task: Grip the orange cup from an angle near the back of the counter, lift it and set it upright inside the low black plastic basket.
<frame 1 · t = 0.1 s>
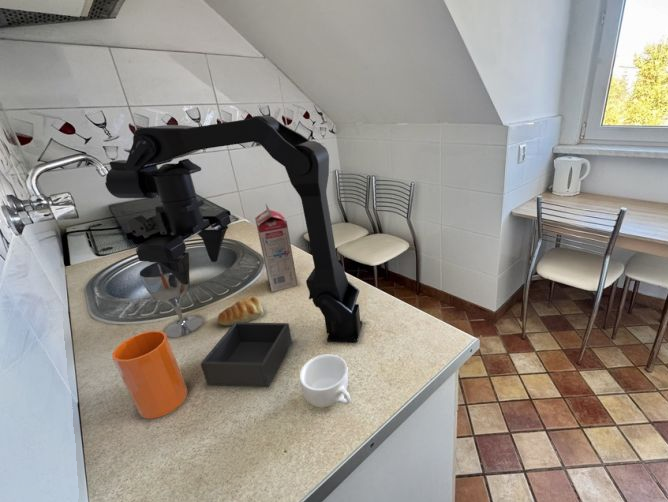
hand: (200, 272, 65), 15 cm above the counter, tool pointing down, fingers open, 9 cm apart
pastry: (245, 316, 75), on the counter
basket: (253, 362, 62), on the counter
teacup: (331, 399, 54), on the counter
orange cup: (164, 400, 54), on the counter
wine glass: (184, 327, 72), on the counter
juice carton: (282, 283, 89), on the counter
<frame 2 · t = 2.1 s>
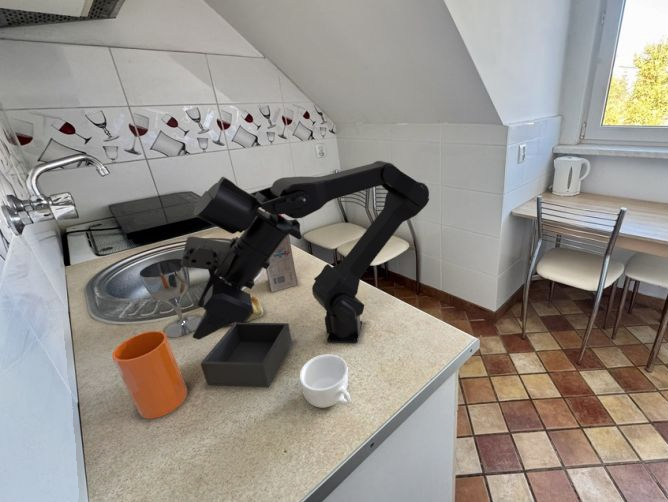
hand: (198, 321, 52), 13 cm above the counter, tool tilted 45°, fingers open, 9 cm apart
nothing on the counter moved.
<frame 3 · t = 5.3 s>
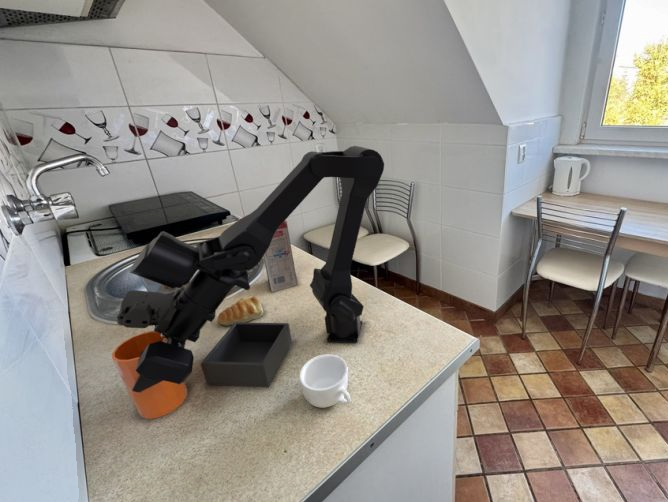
hand: (140, 374, 51), 7 cm above the counter, tool tilted 45°, fingers closed on orange cup, 7 cm apart
orange cup: (164, 400, 54), on the counter, touching gripper
everything else where it was.
when the fingers open (7 cm above the counter, at t = 11.1 s): orange cup stays where it is, resting on basket.
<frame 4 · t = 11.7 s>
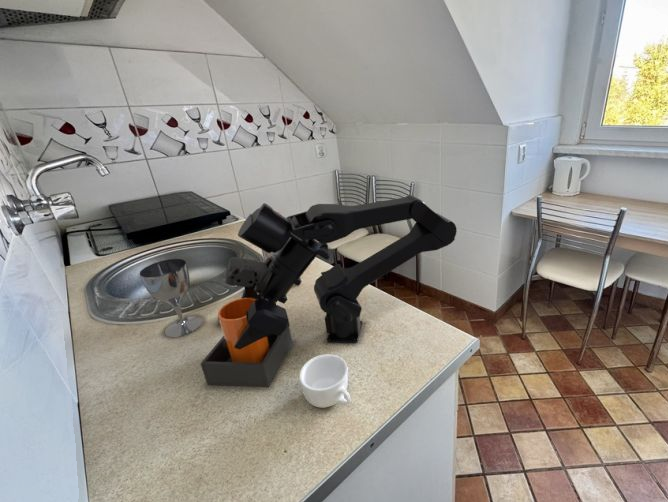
hand: (236, 332, 58), 8 cm above the counter, tool tilted 45°, fingers open, 9 cm apart
orange cup: (252, 360, 62), resting on basket
everything else where it was.
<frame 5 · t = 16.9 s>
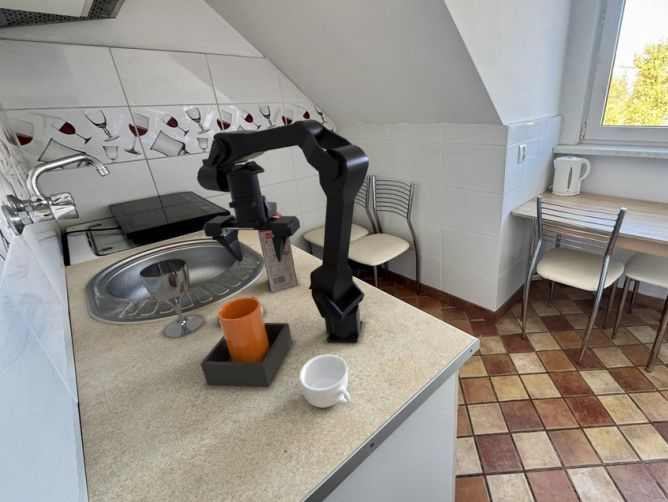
hand: (260, 261, 73), 13 cm above the counter, tool pointing down, fingers open, 9 cm apart
nothing on the counter moved.
at the end: orange cup inside the target area in the basket (0.0 cm from its centre), point 0.5 cm above the basket's base; orange cup tilted 0°; the gripper is holding nothing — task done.
